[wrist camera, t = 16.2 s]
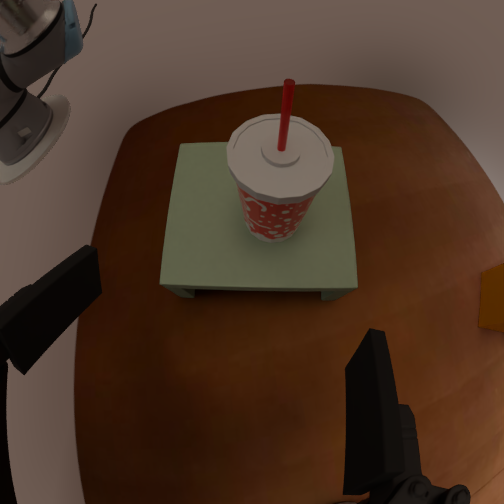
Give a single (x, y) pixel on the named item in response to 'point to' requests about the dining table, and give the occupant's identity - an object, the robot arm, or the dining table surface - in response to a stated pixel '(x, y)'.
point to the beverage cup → (278, 169)
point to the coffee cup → (346, 503)
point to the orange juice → (492, 299)
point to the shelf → (247, 245)
